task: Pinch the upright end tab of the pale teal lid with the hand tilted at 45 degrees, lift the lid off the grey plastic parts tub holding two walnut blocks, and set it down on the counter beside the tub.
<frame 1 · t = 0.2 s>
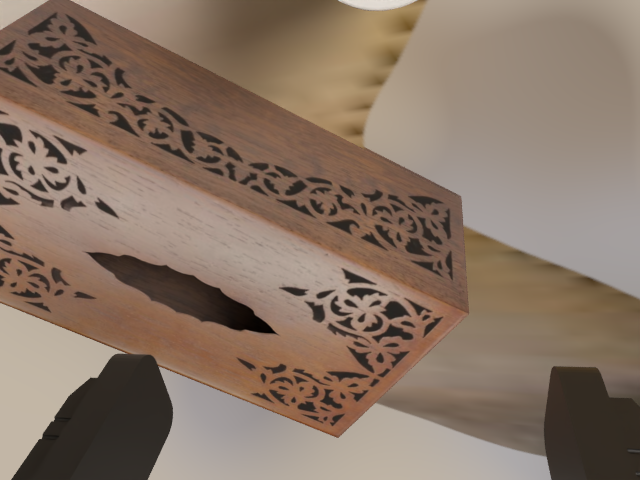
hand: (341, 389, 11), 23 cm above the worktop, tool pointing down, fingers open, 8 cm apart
tissue box cover: (235, 186, 38), on the worktop
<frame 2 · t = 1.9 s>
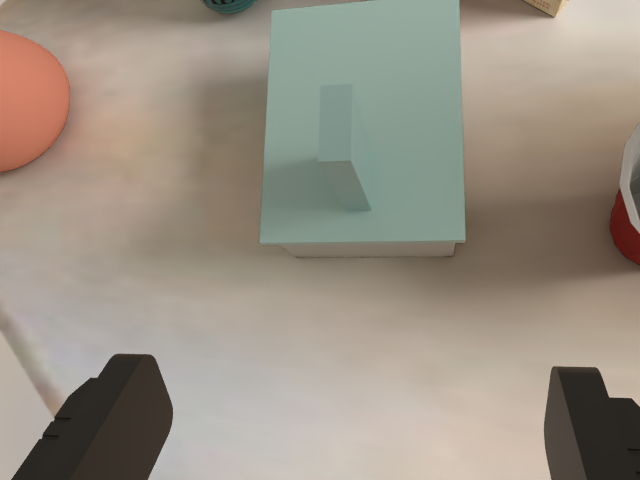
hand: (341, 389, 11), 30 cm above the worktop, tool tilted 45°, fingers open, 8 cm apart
tub: (373, 157, 44), on the worktop
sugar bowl: (22, 112, 53), on the worktop
lid: (362, 120, 38), point 7 cm above the worktop, touching tub
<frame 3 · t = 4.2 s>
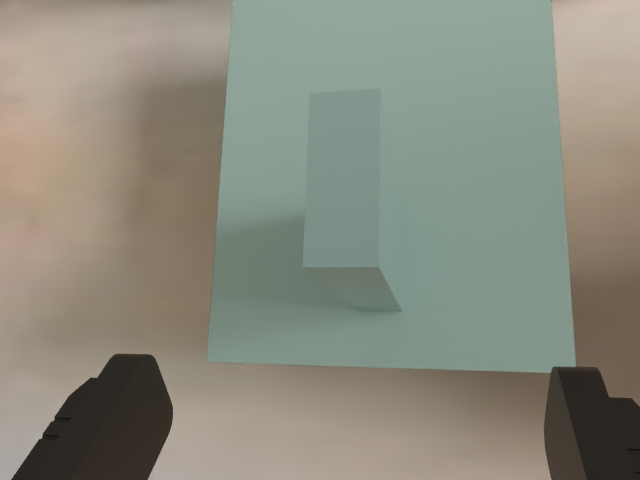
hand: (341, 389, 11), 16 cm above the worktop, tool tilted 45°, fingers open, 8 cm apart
lid: (383, 149, 22), point 7 cm above the worktop, touching tub
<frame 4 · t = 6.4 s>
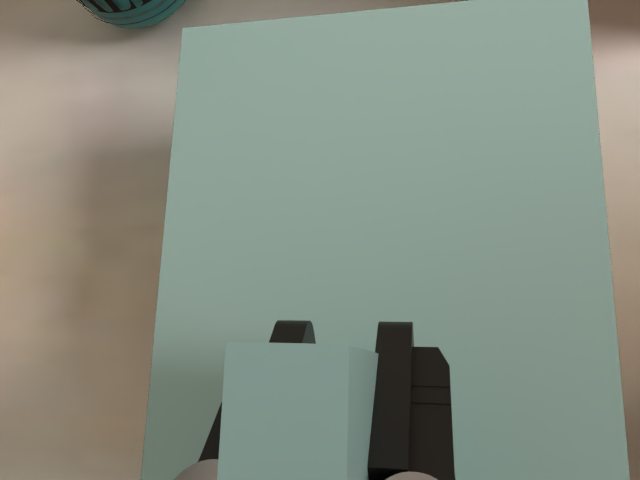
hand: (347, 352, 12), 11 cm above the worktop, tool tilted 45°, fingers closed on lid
lid: (371, 274, 17), point 7 cm above the worktop, touching gripper, tub
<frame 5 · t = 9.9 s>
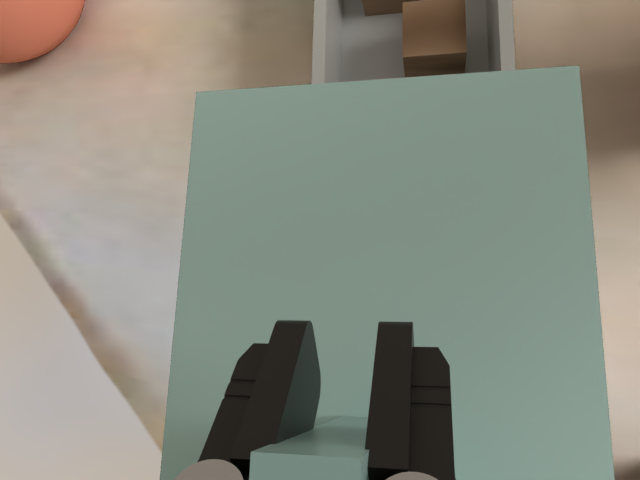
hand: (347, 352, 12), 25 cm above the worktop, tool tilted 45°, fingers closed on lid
tub: (413, 36, 42), on the worktop
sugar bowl: (34, 8, 50), on the worktop
walnut block b: (433, 59, 40), point 1 cm above the worktop, touching tub
lid: (374, 333, 18), point 20 cm above the worktop, touching gripper
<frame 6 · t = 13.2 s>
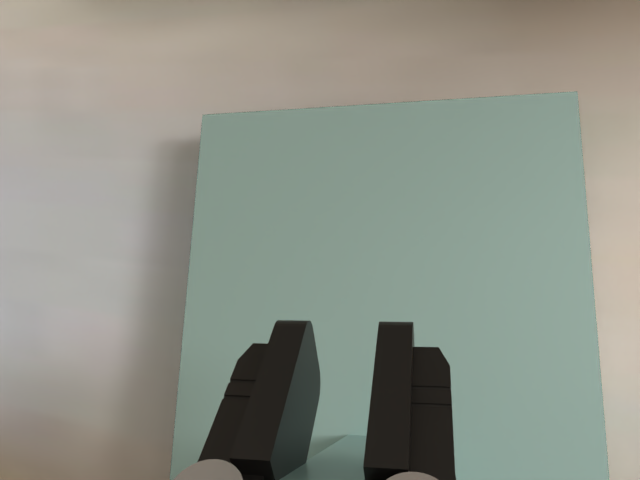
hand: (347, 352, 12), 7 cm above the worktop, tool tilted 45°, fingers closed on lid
lid: (377, 353, 18), point 1 cm above the worktop, touching gripper
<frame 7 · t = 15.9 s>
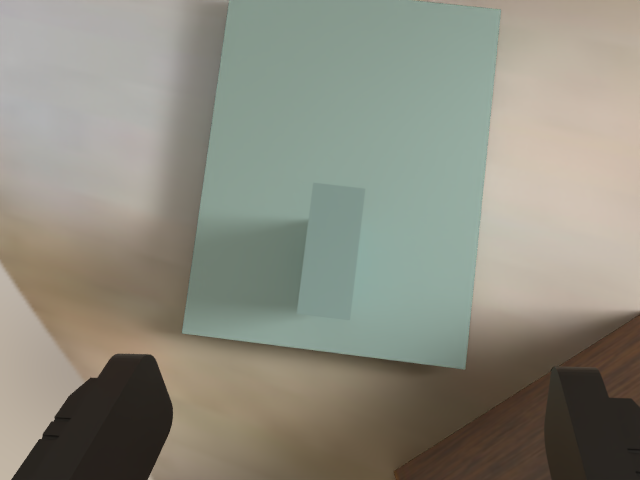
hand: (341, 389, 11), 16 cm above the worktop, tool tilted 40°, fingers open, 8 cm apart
lid: (344, 172, 27), point 1 cm above the worktop
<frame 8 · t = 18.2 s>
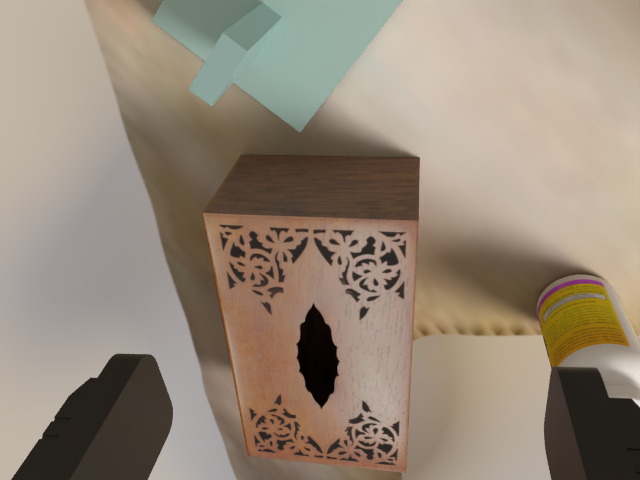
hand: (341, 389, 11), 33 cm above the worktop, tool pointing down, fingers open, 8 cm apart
supplement bottle: (575, 300, 49), on the worktop
tissue box cover: (335, 281, 52), on the worktop
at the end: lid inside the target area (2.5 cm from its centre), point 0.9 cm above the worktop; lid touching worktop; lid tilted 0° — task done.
